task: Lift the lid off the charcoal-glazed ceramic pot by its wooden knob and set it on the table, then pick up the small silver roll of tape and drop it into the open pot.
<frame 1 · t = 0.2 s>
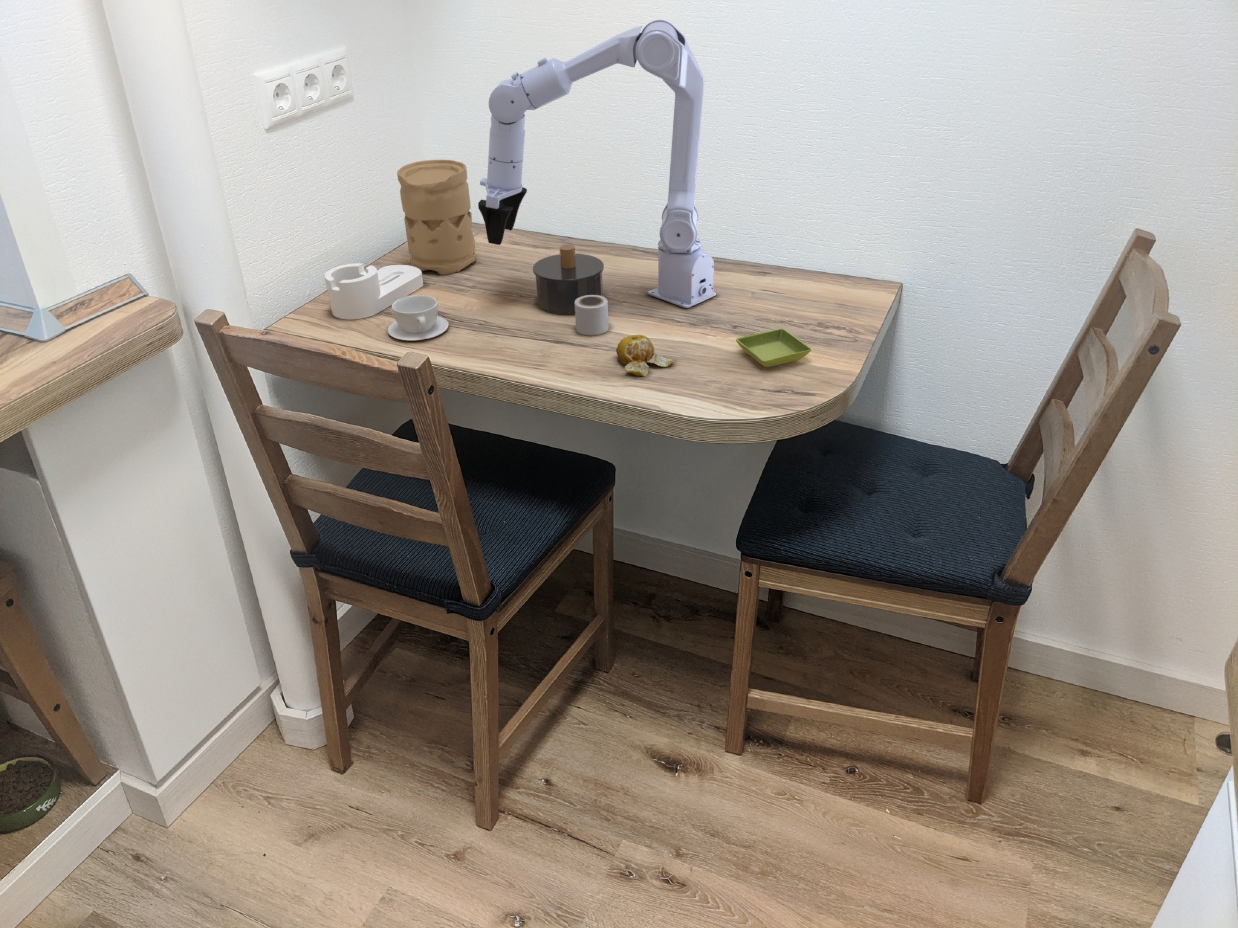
hand: (500, 236, 166), 11 cm above the table, tool pointing down, fingers open, 7 cm apart
pot: (570, 301, 168), on the table
lid: (568, 269, 164), point 6 cm above the table, touching pot
container: (444, 263, 185), on the table
teacup: (418, 331, 159), on the table
fruit: (640, 366, 147), on the table
tape roll: (592, 328, 158), on the table
saucer: (772, 357, 148), on the table
bracket: (378, 298, 171), on the table
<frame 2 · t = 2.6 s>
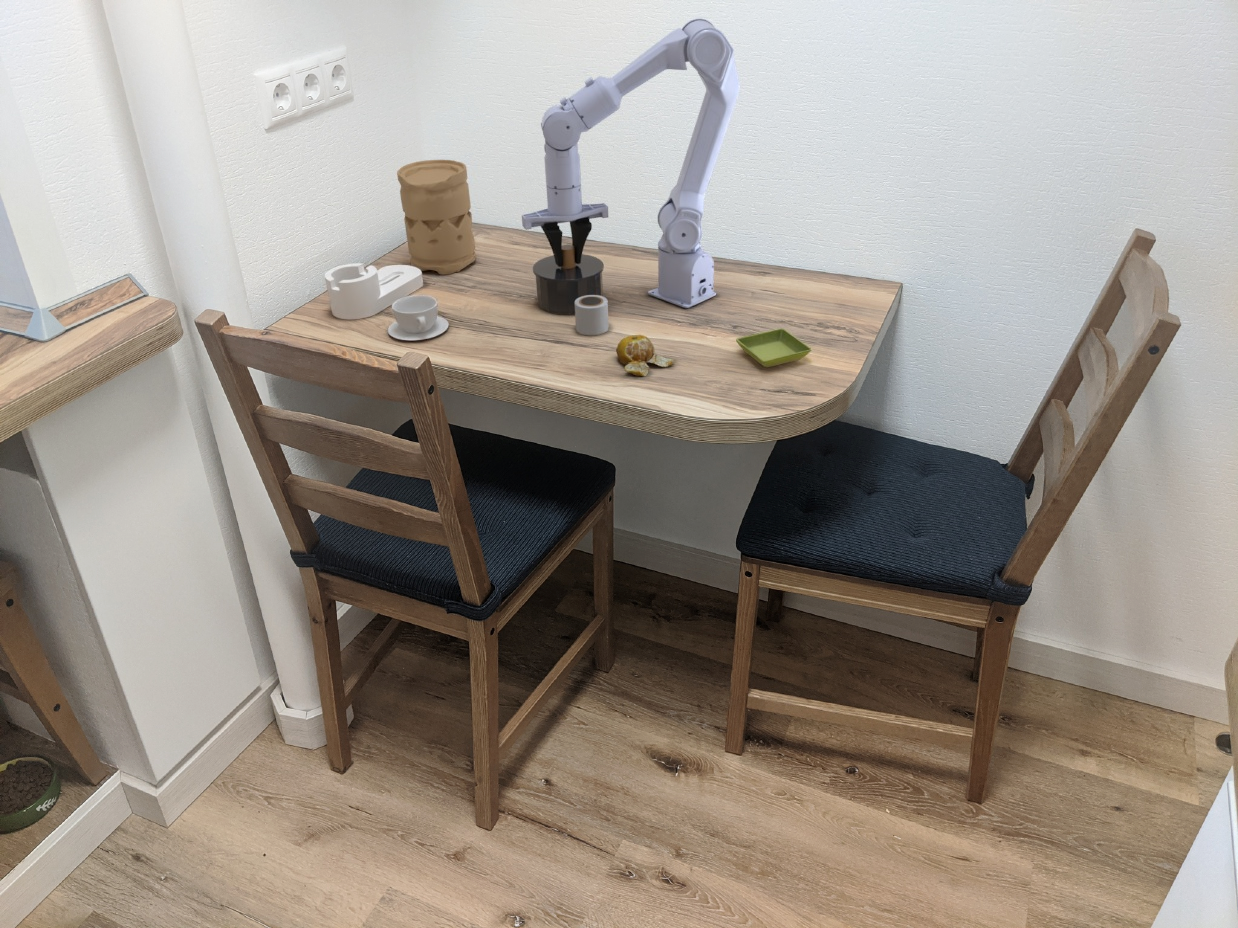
hand: (568, 263, 164), 7 cm above the table, tool pointing down, fingers closed on lid, 2 cm apart
lid: (568, 269, 164), point 6 cm above the table, touching gripper, pot
everything else where it was.
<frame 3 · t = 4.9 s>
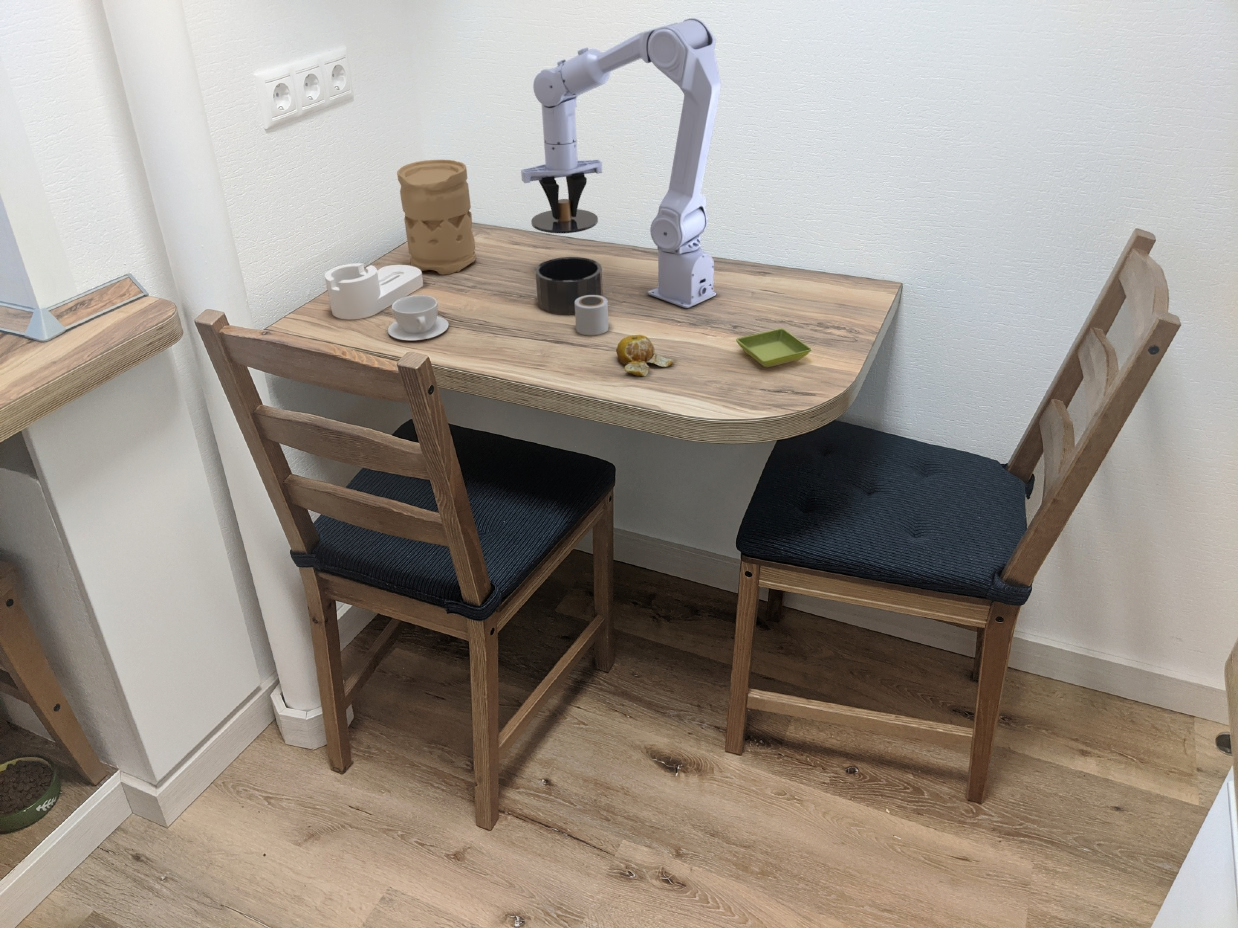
hand: (564, 216, 175), 10 cm above the table, tool pointing down, fingers closed on lid, 2 cm apart
lid: (564, 222, 175), point 9 cm above the table, touching gripper
everything else where it was.
when the fingers open (2 cm above the table, at t = 7.2 s): lid stays where it is, point 1 cm above the table.
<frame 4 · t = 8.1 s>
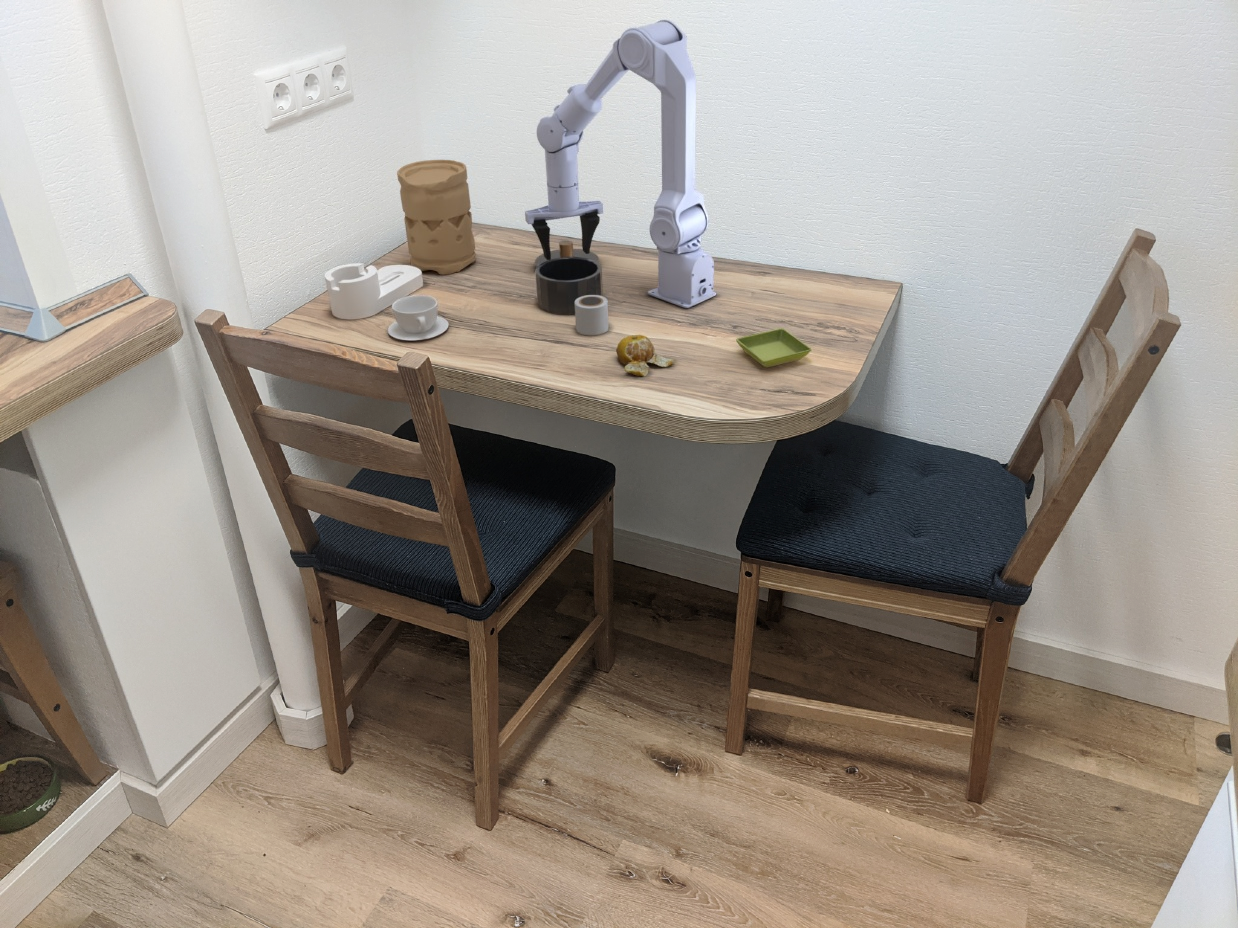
hand: (566, 255, 181), 2 cm above the table, tool pointing down, fingers open, 7 cm apart
lid: (567, 262, 182), point 1 cm above the table
everything else where it was.
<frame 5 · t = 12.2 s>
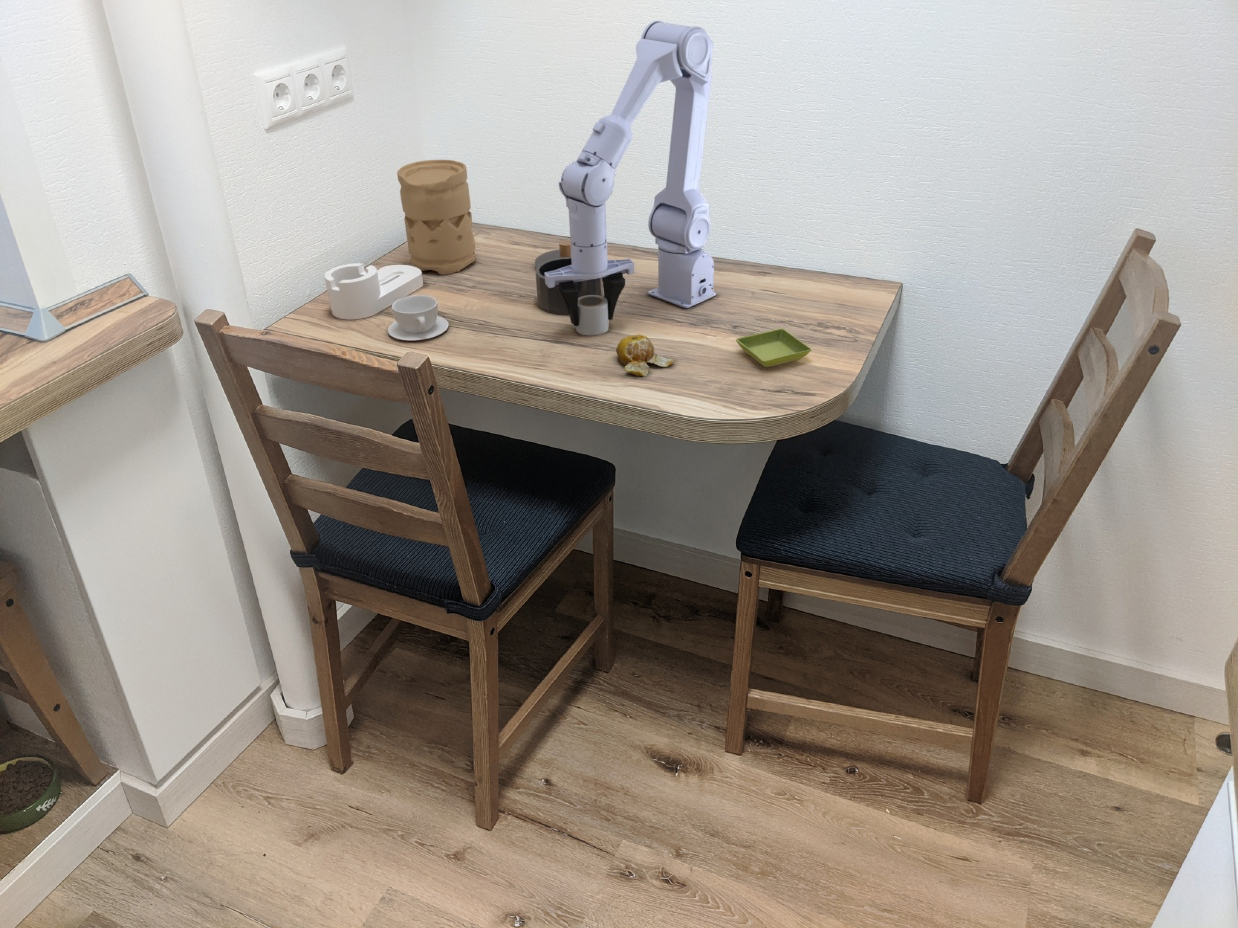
hand: (592, 320, 157), 1 cm above the table, tool pointing down, fingers closed on tape roll, 5 cm apart
tape roll: (592, 328, 158), on the table, touching gripper
everything else where it was.
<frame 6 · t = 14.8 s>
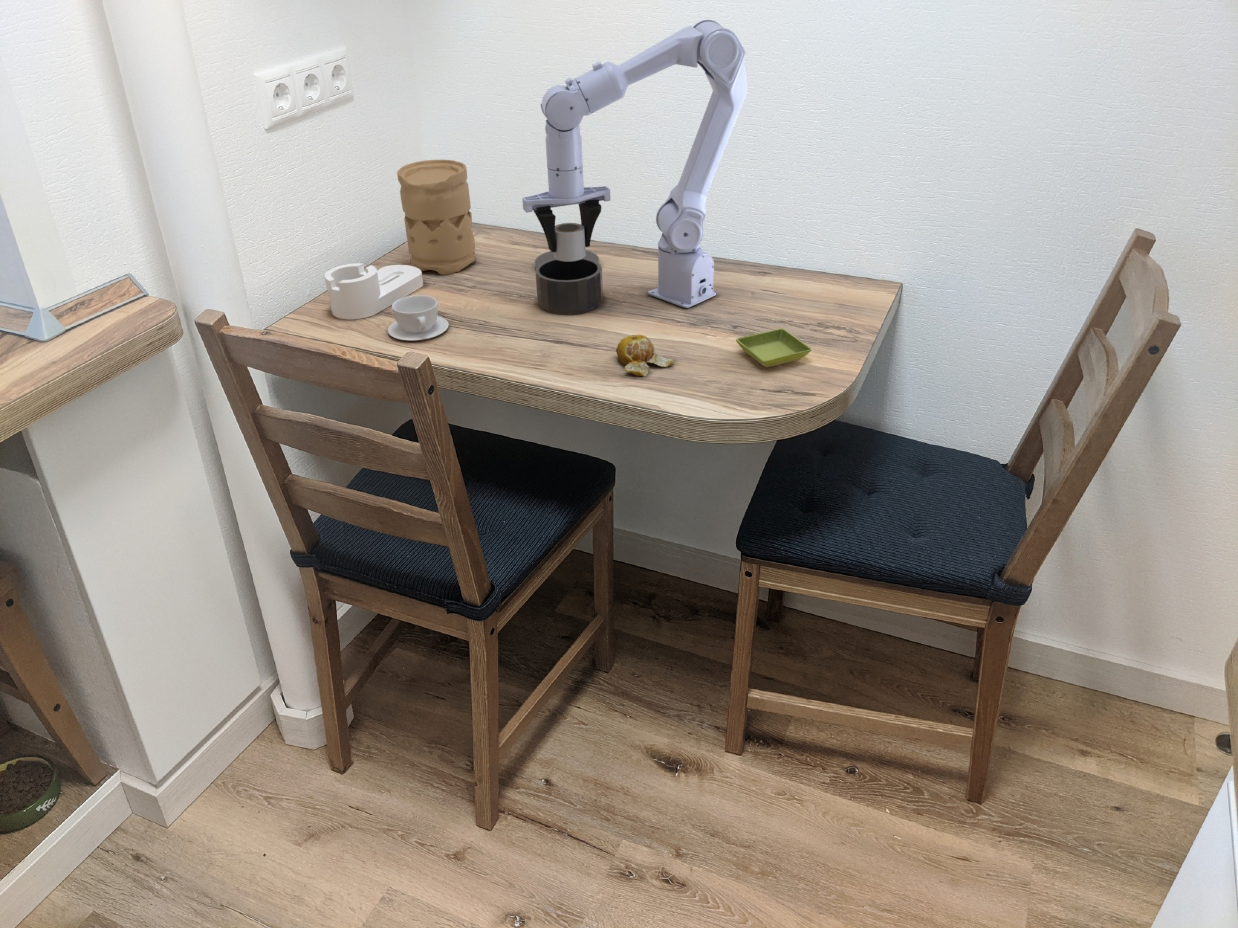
hand: (569, 247, 161), 10 cm above the table, tool pointing down, fingers closed on tape roll, 5 cm apart
tape roll: (569, 255, 162), point 9 cm above the table, touching gripper
everything else where it was.
when the fingers open (3 cm above the table, at t = 18.1 s): tape roll stays where it is, resting on pot.
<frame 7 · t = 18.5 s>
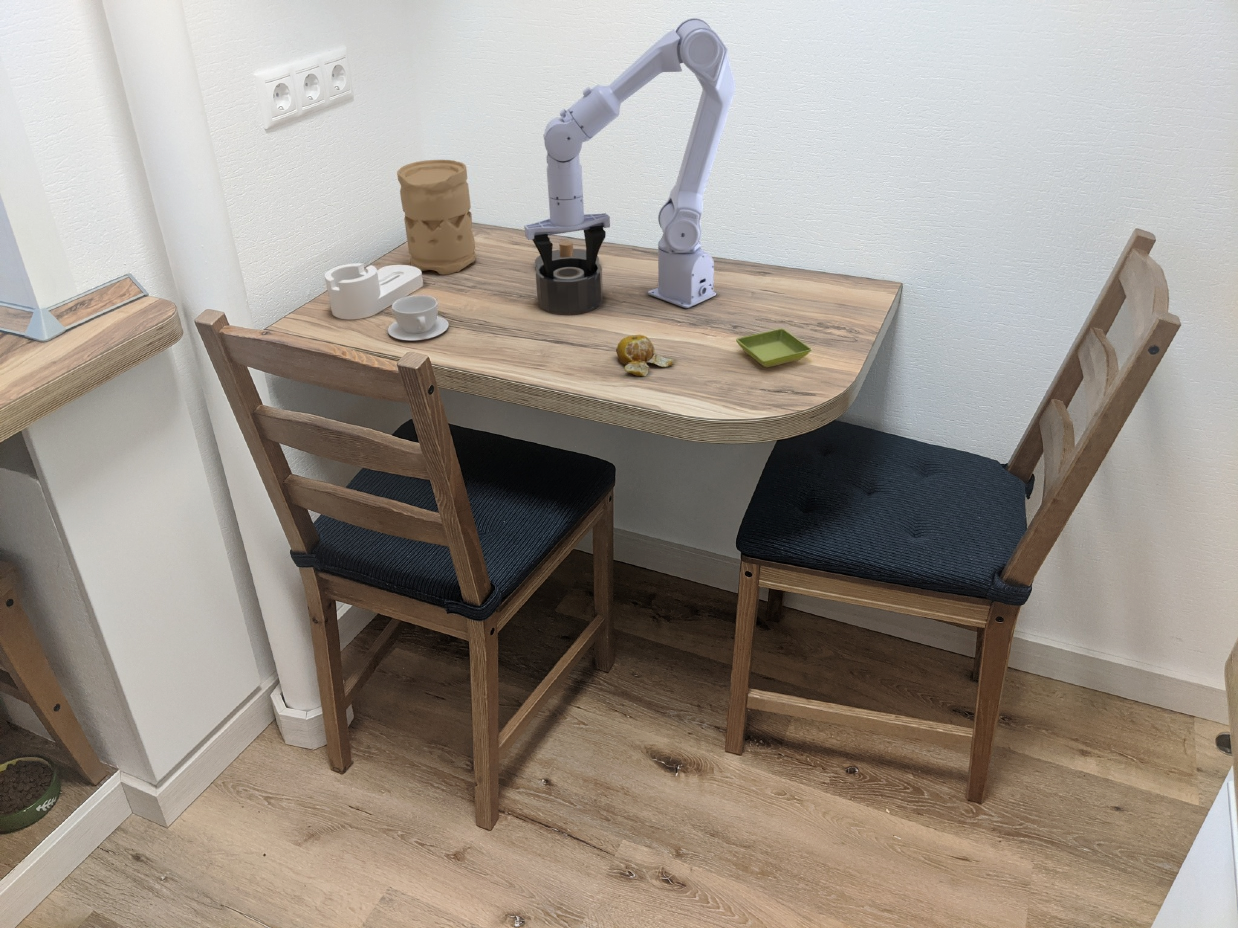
hand: (570, 272, 165), 5 cm above the table, tool pointing down, fingers open, 7 cm apart
tape roll: (569, 298, 167), resting on pot
everything else where it was.
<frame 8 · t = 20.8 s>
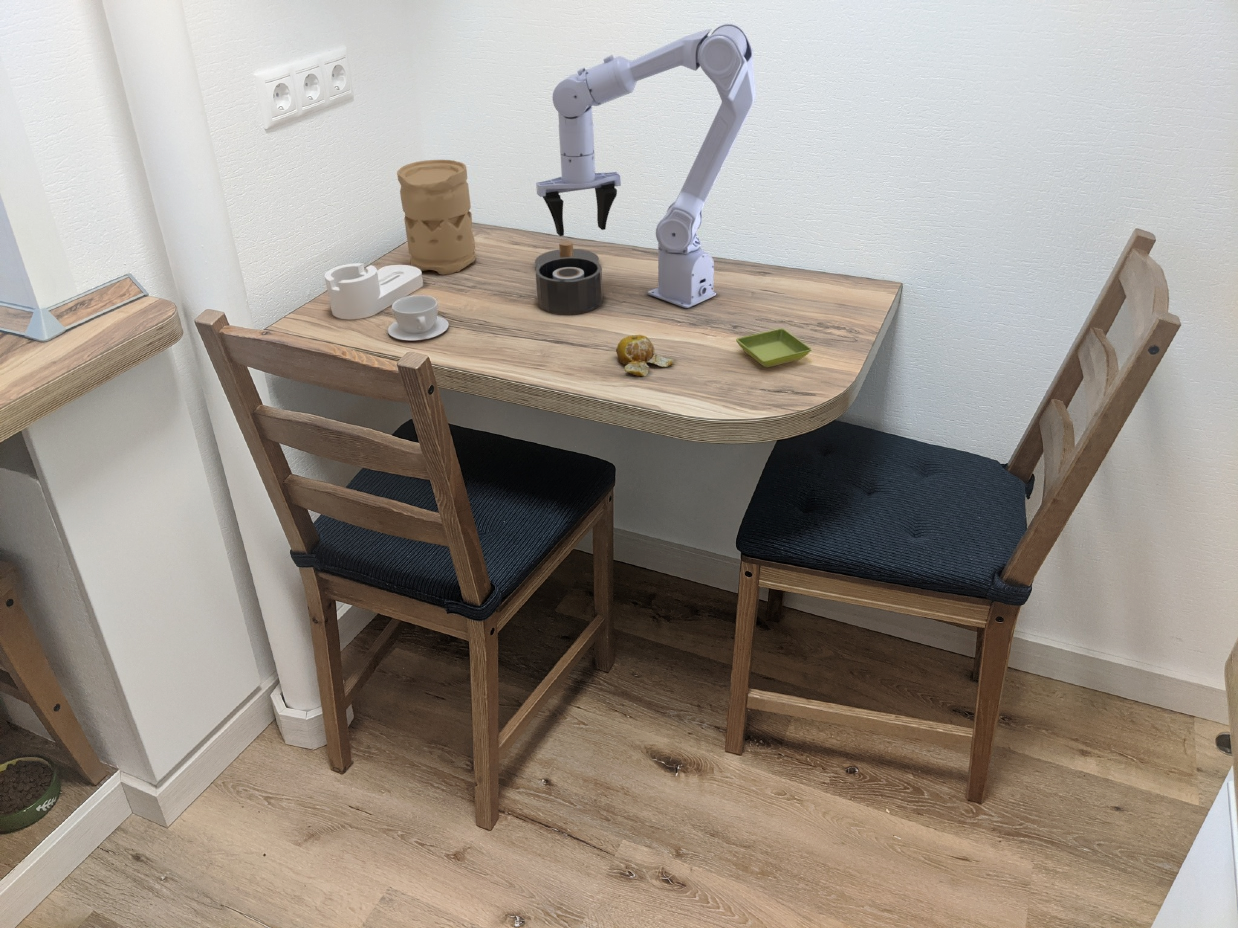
hand: (581, 231, 167), 10 cm above the table, tool pointing down, fingers open, 7 cm apart
nothing on the table moved.
at the end: lid inside the target area (0.0 cm from its centre), point 0.6 cm above the table; tape roll inside the target area in the pot (0.1 cm from its centre), point 0.5 cm above the pot's base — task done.
